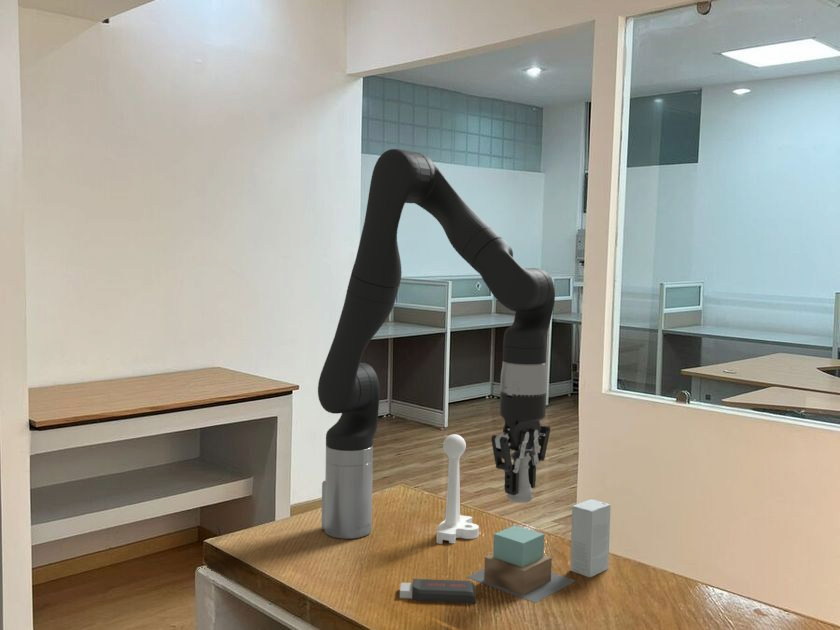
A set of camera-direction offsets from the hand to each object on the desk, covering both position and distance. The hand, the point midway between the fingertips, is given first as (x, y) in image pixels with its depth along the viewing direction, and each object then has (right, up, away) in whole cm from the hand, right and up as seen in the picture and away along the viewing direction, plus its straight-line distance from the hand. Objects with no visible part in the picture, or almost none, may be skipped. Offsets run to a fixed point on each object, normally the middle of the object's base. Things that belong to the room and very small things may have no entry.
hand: (520, 490), depth 130 cm
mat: (0, -16, +2) cm, 16 cm away
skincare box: (+13, -16, +7) cm, 22 cm away
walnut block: (0, -15, +1) cm, 15 cm away
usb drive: (-14, -17, -5) cm, 22 cm away
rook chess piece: (0, -2, 0) cm, 2 cm away
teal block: (0, -11, +1) cm, 11 cm away
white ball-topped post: (-9, -14, +23) cm, 28 cm away
